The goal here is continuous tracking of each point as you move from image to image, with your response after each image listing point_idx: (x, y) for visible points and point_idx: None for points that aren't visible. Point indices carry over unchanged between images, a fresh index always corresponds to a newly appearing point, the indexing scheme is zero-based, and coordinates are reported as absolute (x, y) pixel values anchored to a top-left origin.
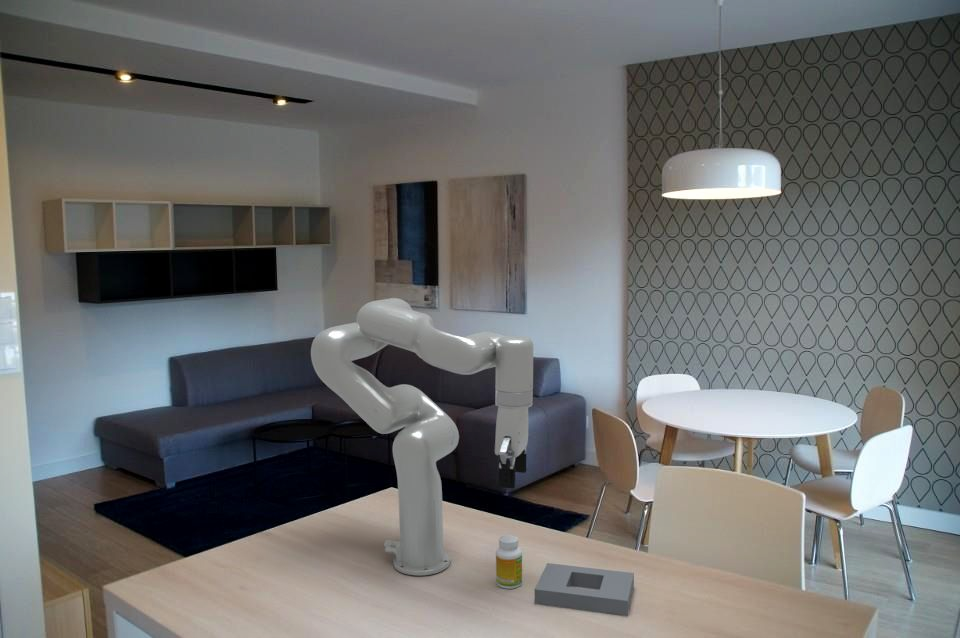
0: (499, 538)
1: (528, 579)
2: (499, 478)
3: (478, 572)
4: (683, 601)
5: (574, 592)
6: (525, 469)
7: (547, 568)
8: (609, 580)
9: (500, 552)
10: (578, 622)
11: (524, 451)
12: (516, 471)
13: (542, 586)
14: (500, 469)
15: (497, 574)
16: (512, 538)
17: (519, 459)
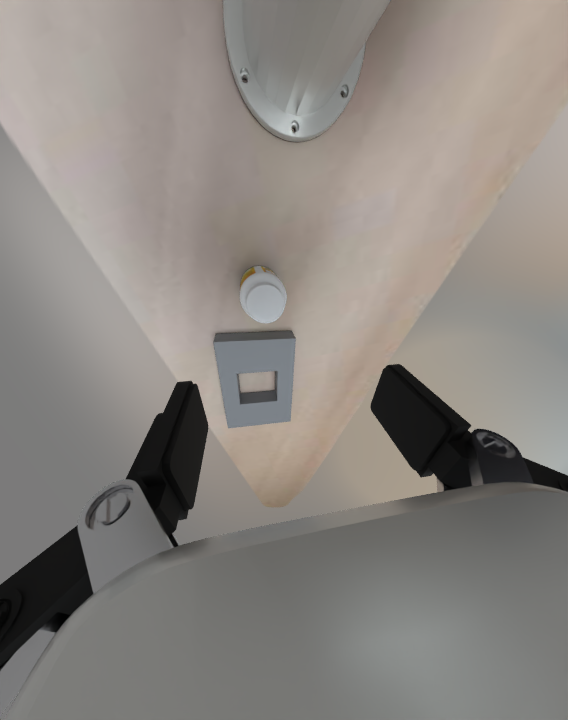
0: (261, 286)
1: None
2: (164, 411)
3: (282, 221)
4: (271, 442)
5: (224, 385)
6: (377, 416)
7: (279, 342)
8: (267, 407)
9: (245, 287)
10: None
11: (437, 488)
12: (378, 384)
13: (225, 349)
14: (144, 465)
15: (246, 273)
16: (269, 312)
17: (409, 435)
